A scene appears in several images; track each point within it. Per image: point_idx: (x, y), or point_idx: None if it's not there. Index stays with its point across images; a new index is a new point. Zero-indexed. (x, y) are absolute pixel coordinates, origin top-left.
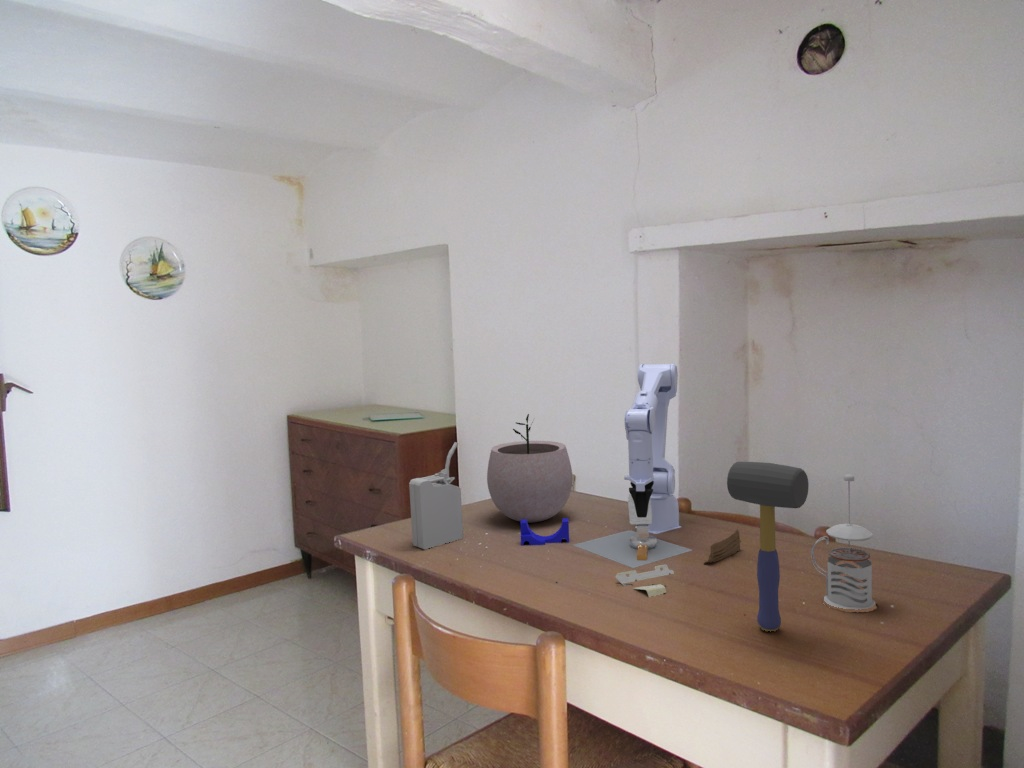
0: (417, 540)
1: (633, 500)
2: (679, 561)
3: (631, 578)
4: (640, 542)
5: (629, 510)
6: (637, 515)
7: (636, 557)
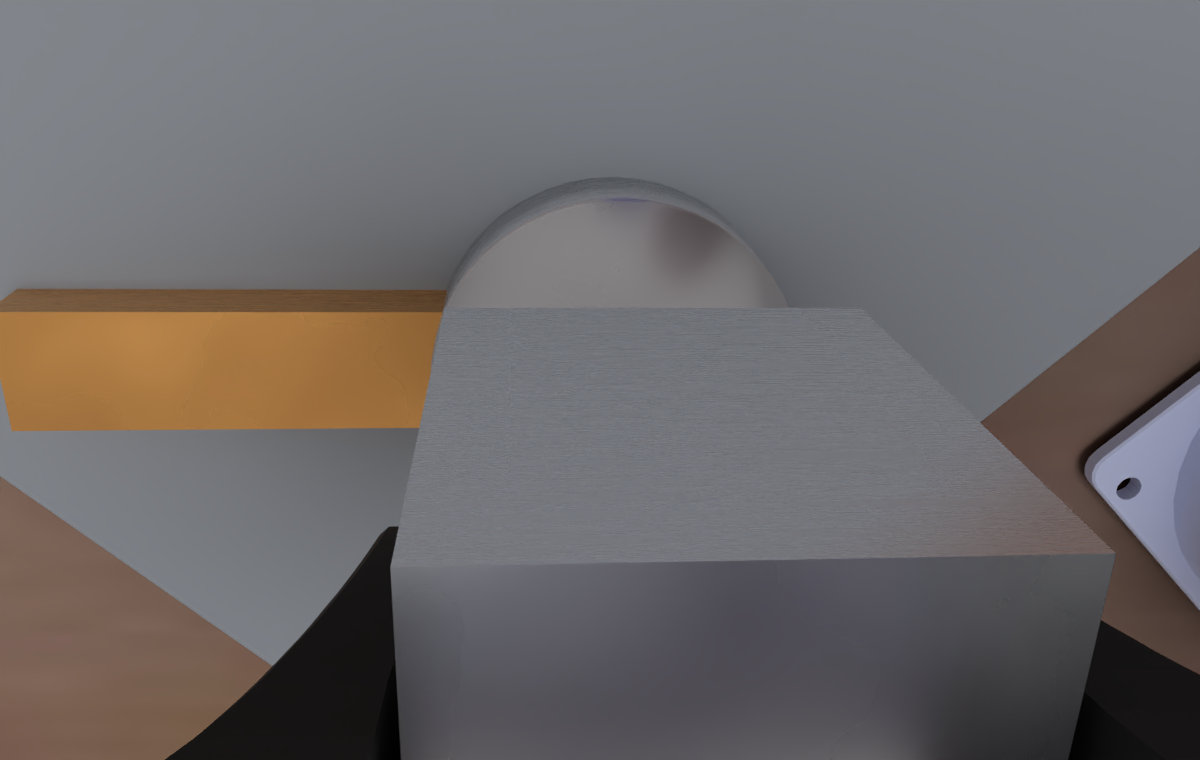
0: None
1: (179, 752)
2: (177, 695)
3: None
4: None
5: (426, 432)
6: (373, 547)
7: (123, 278)
